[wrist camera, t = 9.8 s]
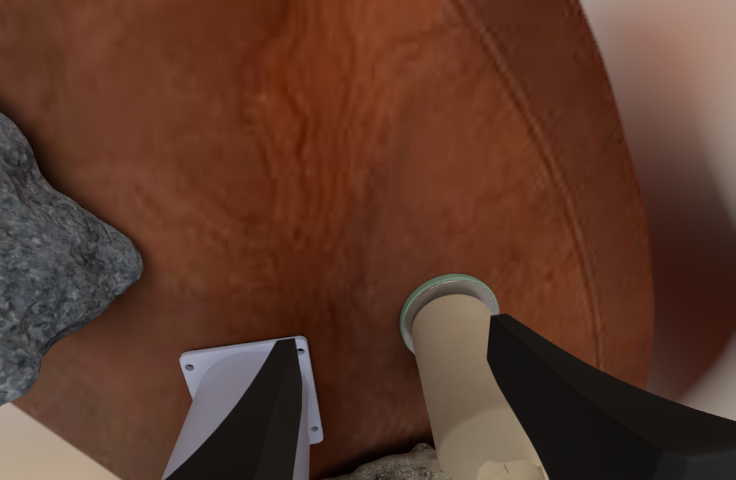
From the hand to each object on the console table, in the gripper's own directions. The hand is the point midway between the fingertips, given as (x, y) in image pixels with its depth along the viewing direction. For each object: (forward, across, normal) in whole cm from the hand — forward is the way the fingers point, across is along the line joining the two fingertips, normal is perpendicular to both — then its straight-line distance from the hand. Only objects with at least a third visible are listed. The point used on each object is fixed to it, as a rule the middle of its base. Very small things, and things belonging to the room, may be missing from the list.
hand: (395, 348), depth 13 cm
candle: (+9, -5, +6) cm, 12 cm away
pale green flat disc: (+10, -5, +6) cm, 13 cm away
